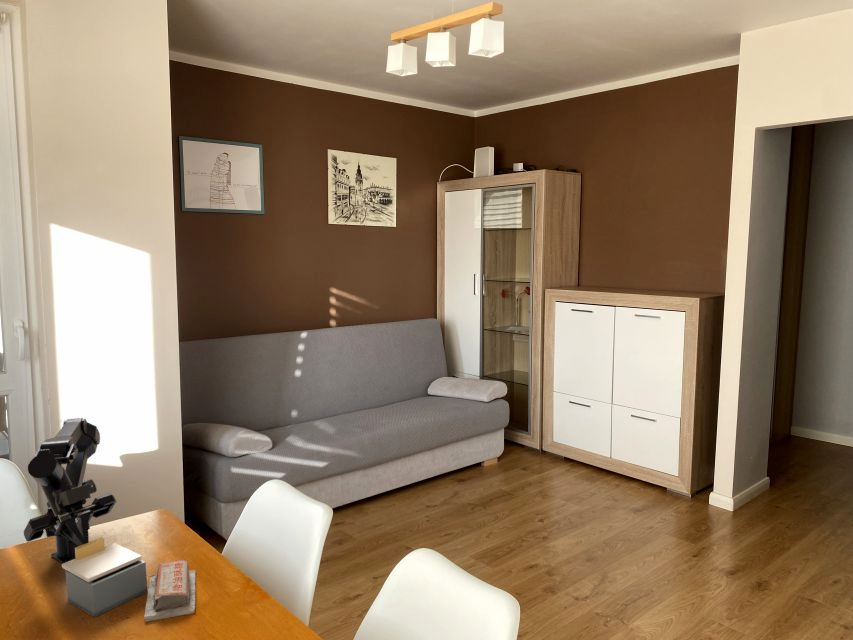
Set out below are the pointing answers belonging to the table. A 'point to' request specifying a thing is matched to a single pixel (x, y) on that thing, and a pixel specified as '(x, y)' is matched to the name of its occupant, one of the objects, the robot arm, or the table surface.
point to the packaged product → (171, 591)
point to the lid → (99, 559)
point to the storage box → (107, 588)
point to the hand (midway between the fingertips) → (86, 548)
